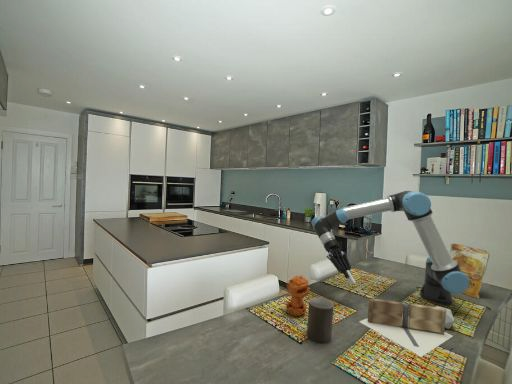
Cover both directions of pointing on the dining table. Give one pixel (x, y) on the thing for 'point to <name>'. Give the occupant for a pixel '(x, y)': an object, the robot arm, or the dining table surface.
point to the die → (448, 318)
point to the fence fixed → (424, 318)
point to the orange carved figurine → (297, 295)
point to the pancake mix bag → (471, 266)
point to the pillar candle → (320, 320)
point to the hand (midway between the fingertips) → (353, 283)
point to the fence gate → (385, 312)
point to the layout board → (410, 337)
